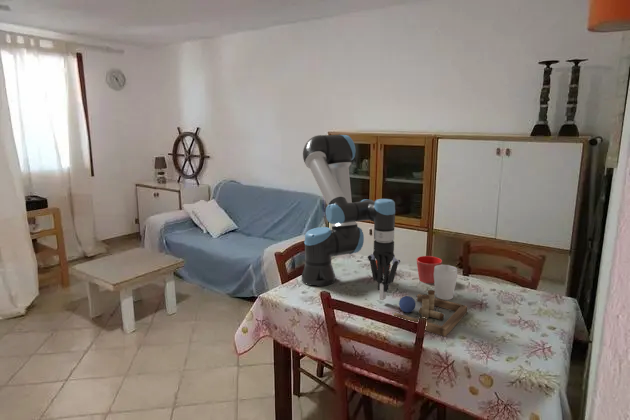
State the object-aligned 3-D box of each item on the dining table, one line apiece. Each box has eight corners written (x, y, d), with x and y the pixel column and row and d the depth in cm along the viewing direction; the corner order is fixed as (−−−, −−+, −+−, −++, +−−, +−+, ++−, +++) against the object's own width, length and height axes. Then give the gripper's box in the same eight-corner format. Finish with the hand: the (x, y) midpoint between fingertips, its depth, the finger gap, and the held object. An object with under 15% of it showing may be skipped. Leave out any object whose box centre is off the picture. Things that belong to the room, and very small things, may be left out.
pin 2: (425, 313, 154) (426, 291, 152) (428, 311, 155) (429, 289, 154) (432, 315, 152) (433, 293, 150) (434, 312, 154) (435, 290, 152)
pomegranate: (373, 278, 195) (389, 269, 189) (366, 263, 198) (381, 254, 192) (382, 275, 201) (397, 266, 195) (375, 261, 203) (390, 252, 197)
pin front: (418, 308, 152) (441, 315, 147) (421, 306, 154) (444, 312, 149) (418, 314, 153) (441, 321, 148) (421, 312, 155) (444, 318, 149)
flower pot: (445, 284, 181) (446, 262, 179) (421, 285, 179) (422, 264, 177) (434, 275, 191) (435, 255, 189) (412, 277, 190) (412, 256, 188)
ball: (413, 315, 151) (399, 315, 155) (420, 306, 155) (407, 306, 159) (407, 301, 150) (393, 301, 154) (414, 292, 154) (401, 293, 158)
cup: (457, 302, 163) (459, 272, 161) (433, 300, 165) (434, 271, 162) (454, 292, 172) (456, 265, 169) (431, 291, 173) (433, 263, 171)
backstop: (393, 320, 148) (393, 314, 148) (418, 299, 165) (418, 293, 165) (445, 336, 137) (446, 329, 136) (467, 312, 154) (467, 306, 154)
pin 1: (420, 318, 150) (421, 296, 148) (423, 316, 152) (424, 293, 150) (426, 320, 148) (427, 297, 146) (429, 317, 150) (430, 295, 148)
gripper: (364, 239, 158) (363, 297, 163) (395, 245, 151) (393, 306, 156) (373, 235, 164) (372, 291, 169) (404, 240, 157) (402, 299, 161)
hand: (382, 298), depth 162 cm, fingers closed
